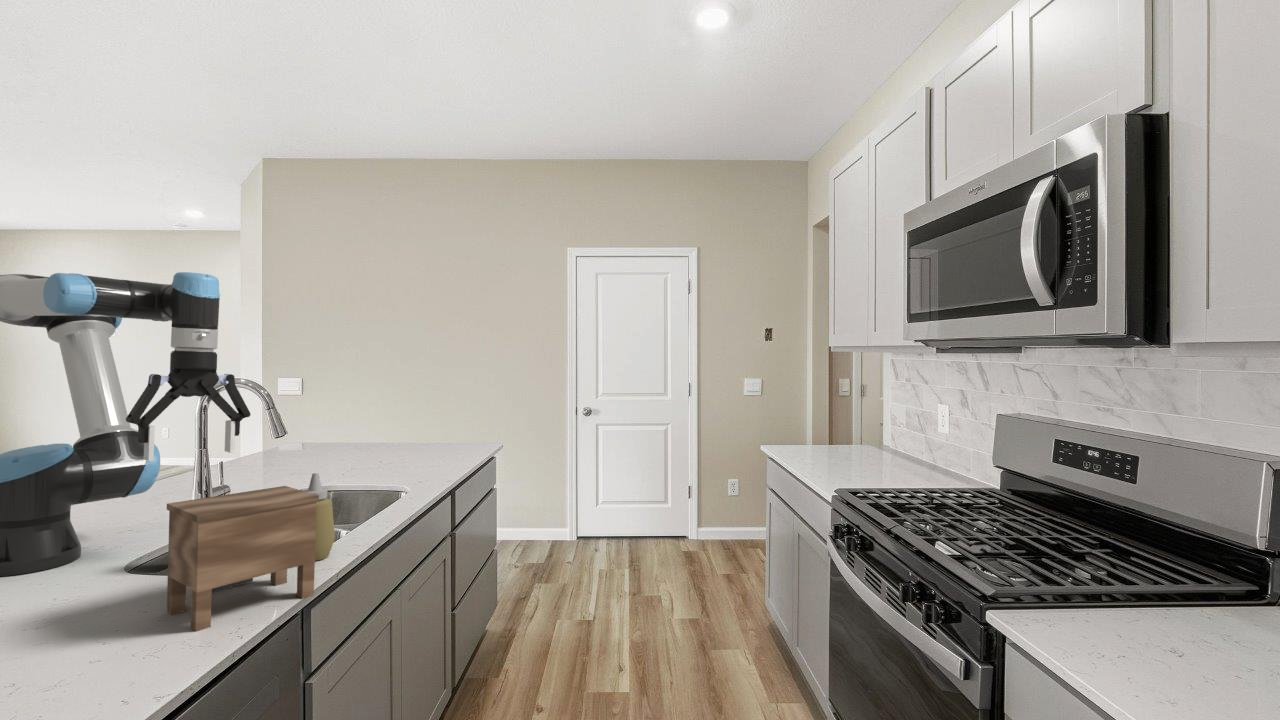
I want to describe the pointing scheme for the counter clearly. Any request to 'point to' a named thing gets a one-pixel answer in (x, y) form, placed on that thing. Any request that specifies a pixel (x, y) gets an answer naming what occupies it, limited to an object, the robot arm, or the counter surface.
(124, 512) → the counter surface
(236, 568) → the walnut cabinet
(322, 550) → the squeeze bottle
